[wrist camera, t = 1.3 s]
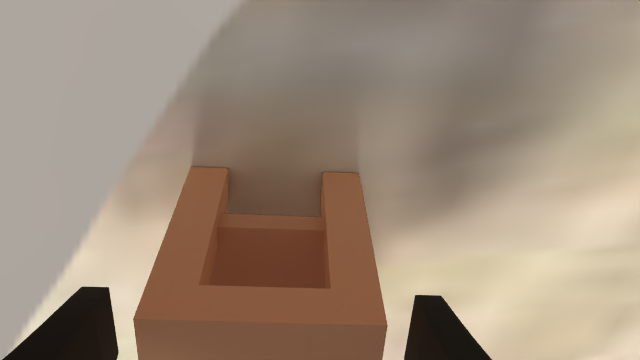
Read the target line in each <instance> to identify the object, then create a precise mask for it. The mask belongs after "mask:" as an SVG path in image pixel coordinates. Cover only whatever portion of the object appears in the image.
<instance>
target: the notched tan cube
mask: <svg viewBox="0 0 640 360" xmlns="http://www.w3.org/2000/svg"><path fill="white" fill-rule="evenodd" d="M228 200H229V197H228V168H210V167H191V168H190V171H189V173H188V176H187V179H186V181H185V184H184V186H183V189H182V192H181V194H180V197H179V200H178V202H177V205H176V208H175V210H174V213H173V215H172V218H171V221H170V223H169V226H168V229H167V231H166V234H165V237H164V239H163V242H162V245H161V247H160V250H159V252H158V255H157V258H156V260H155V263H154V266H153V268H152V271H151V274H150V276H149V279H148V281H147V284H146V287H145V289H144V292H143V295H142V297H141V300H140V303H139V305H138V308H137V311H136V313H135V316H134V318H133V320H134V328H135V336H136V344H137V352H138V360H382V358H383V351H384V345H385V338H386V331H387V321H386V315H385V310H384V305H383V299H382V294H381V289H380V283H379V278H378V273H377V267H376V262H375V257H374V251H373V246H372V240H371V235H370V230H369V224H368V219H367V214H366V208H365V203H364V198H363V192H362V187H361V182H360V176H359V173H337V172H323V177H322V192H321V217H305V216H277V215H249V214H225V213H226V209H227V204H228Z"/></svg>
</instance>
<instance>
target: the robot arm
mask: <svg viewBox="0 0 640 360" xmlns="http://www.w3.org/2000/svg"><path fill="white" fill-rule="evenodd" d="M117 356H118V346H117V339H116V332H115V326H114V319H113V312H112V306H111V299H110V292H109V287H81V288H80V289H79V290H78V291H77V292H76V293H75V294H73V295H72V296H71V297H70V298H69V299H68V300H67V301H66V302H65V303H64V304H63V305H62V306H61V307H60V308H59V309H58V310H56V311H55V312H54V313H53V314H52V315H51V316H50V317H49V318H48V319H47V320H46V321H45V322H44V323H43V324H42V325H41V326H39V327H38V328H37V329H36V330H35V331H34V332H33V333H32V334H31V335H30V336H28V337H27V338H26V339H25V340H24V341H23V342H22V343H21V344H20V345H19V346H17V347H16V348H15V349H14V350H13V351H12V352H11V353H10V354H8V355H7V356H6V357H5V358H4V359H2V360H117ZM404 360H492V359H491V358H490V357H489V356H488V355H487V353H486V352H485V351H484V350H483V349H482V348H481V346H480V345H479V344H478V343H477V341H476V340H475V339H474V338H473V337H472V335H471V334H470V333H469V331H468V330H467V329H466V328H465V326H464V325H463V324H462V322H461V321H460V320H459V319H458V317H457V316H456V315H455V313H454V312H453V311H452V309H451V308H450V307H449V305H448V304H447V303H446V301H445V300H444V299H443V298H442V297H441V296H433V295H415V300H414V305H413V311H412V317H411V322H410V328H409V334H408V339H407V345H406V351H405V356H404Z"/></svg>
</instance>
